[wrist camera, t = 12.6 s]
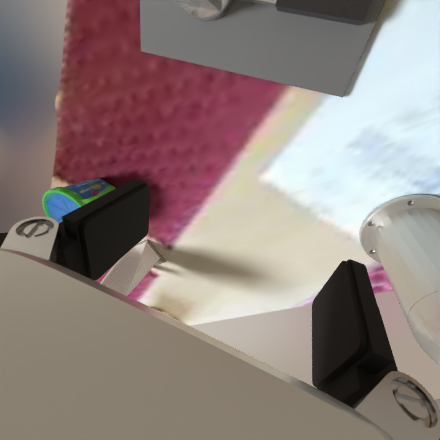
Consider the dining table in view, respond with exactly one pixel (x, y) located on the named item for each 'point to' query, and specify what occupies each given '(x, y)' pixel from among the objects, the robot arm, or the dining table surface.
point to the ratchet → (299, 9)
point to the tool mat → (260, 42)
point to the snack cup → (73, 197)
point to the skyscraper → (132, 268)
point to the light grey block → (202, 4)
